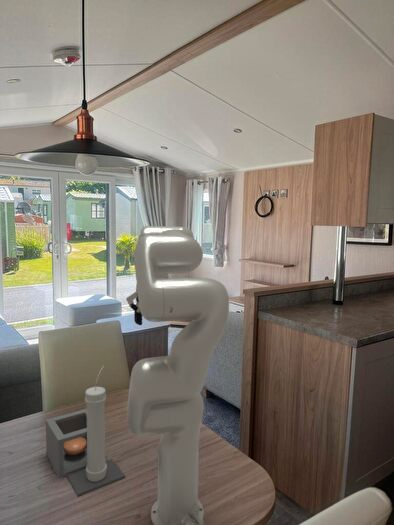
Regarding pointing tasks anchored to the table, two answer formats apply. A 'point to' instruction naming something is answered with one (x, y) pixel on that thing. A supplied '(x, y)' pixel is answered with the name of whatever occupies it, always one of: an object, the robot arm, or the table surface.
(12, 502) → the table surface
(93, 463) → the grey cylindrical piece
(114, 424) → the table surface
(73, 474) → the mat
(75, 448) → the button
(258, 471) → the table surface
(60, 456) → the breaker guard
